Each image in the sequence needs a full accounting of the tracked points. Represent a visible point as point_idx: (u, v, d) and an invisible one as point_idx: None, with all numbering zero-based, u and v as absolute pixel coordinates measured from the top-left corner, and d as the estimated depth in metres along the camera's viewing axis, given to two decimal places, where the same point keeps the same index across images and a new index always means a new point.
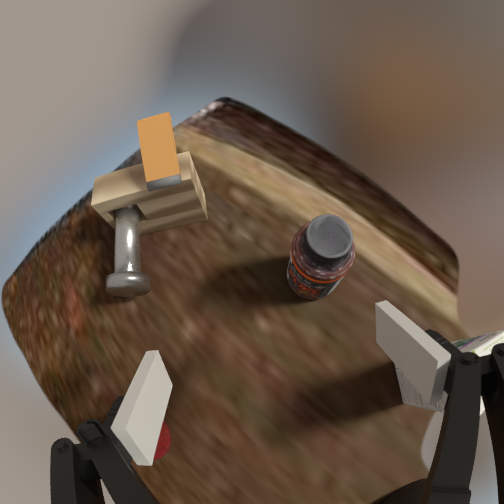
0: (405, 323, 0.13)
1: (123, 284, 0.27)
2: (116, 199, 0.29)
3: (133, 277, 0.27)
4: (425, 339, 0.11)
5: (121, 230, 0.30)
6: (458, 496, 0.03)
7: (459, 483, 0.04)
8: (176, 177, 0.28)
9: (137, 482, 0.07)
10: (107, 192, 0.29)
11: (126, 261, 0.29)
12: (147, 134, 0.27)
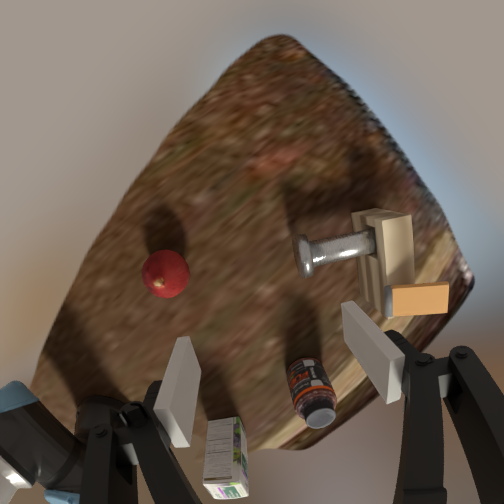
0: (365, 323, 0.14)
1: (302, 264, 0.31)
2: (383, 249, 0.30)
3: (308, 273, 0.32)
4: (382, 339, 0.12)
5: (354, 248, 0.32)
6: (434, 496, 0.04)
7: (432, 482, 0.05)
8: (390, 314, 0.30)
9: (174, 468, 0.07)
10: (392, 237, 0.29)
11: (324, 259, 0.32)
12: (433, 293, 0.27)
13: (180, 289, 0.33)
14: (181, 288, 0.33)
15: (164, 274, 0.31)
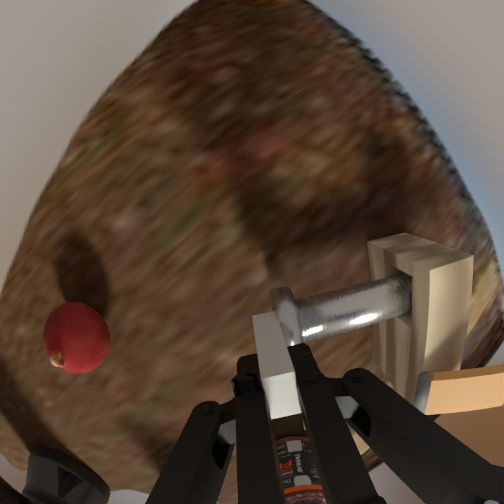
0: (275, 335, 0.15)
1: None
2: (425, 317, 0.15)
3: None
4: (281, 352, 0.13)
5: (377, 312, 0.17)
6: None
7: (365, 494, 0.05)
8: None
9: (271, 447, 0.08)
10: (442, 298, 0.15)
11: (323, 333, 0.18)
12: (491, 384, 0.13)
13: (94, 365, 0.19)
14: (95, 363, 0.19)
15: (63, 347, 0.16)
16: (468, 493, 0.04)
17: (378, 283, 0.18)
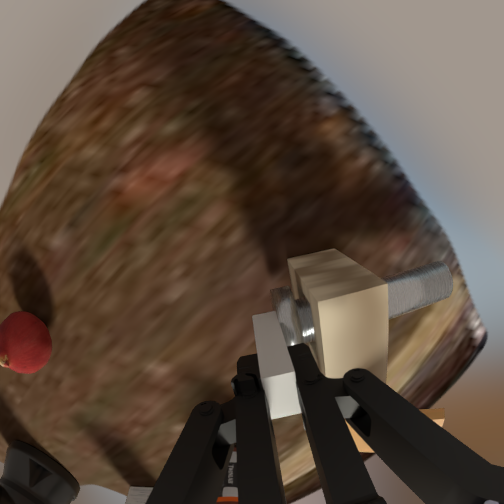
0: (275, 335, 0.15)
1: None
2: (322, 351, 0.15)
3: None
4: (281, 352, 0.13)
5: None
6: None
7: (365, 494, 0.05)
8: None
9: (271, 447, 0.08)
10: (341, 332, 0.15)
11: None
12: None
13: (35, 367, 0.18)
14: (36, 366, 0.18)
15: (8, 350, 0.16)
16: (468, 493, 0.04)
17: None
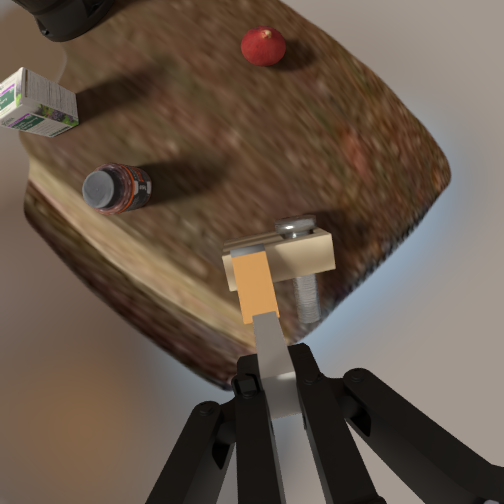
0: (275, 335, 0.15)
1: (294, 221, 0.32)
2: (302, 239, 0.31)
3: (285, 228, 0.33)
4: (281, 352, 0.13)
5: None
6: None
7: (365, 494, 0.05)
8: (233, 254, 0.30)
9: (271, 447, 0.08)
10: (314, 247, 0.31)
11: None
12: (266, 300, 0.28)
13: (252, 53, 0.29)
14: (253, 54, 0.29)
15: (272, 40, 0.28)
16: (468, 493, 0.04)
17: (315, 273, 0.36)
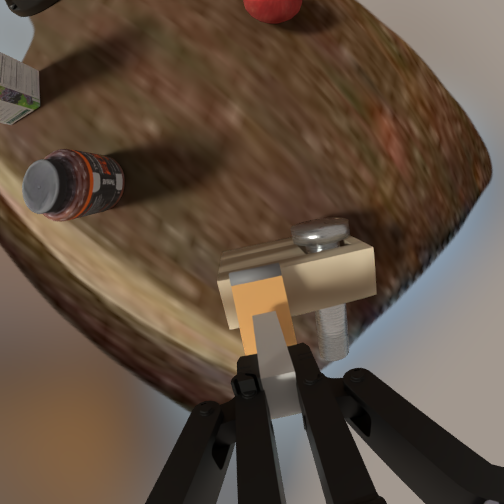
0: (275, 335, 0.15)
1: (321, 228, 0.22)
2: (333, 255, 0.21)
3: (308, 237, 0.23)
4: (281, 352, 0.13)
5: None
6: None
7: (365, 494, 0.05)
8: (233, 280, 0.20)
9: (271, 447, 0.08)
10: (350, 266, 0.21)
11: None
12: None
13: (259, 4, 0.19)
14: (260, 5, 0.19)
15: None
16: (468, 493, 0.04)
17: None
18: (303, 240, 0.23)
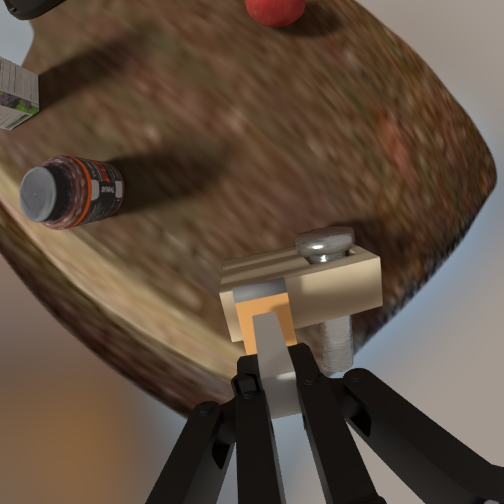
0: (275, 335, 0.15)
1: (326, 237, 0.22)
2: (339, 265, 0.20)
3: (312, 247, 0.22)
4: (281, 352, 0.13)
5: None
6: None
7: (365, 494, 0.05)
8: (237, 298, 0.19)
9: (271, 447, 0.08)
10: (356, 277, 0.20)
11: None
12: None
13: (261, 7, 0.19)
14: (262, 8, 0.19)
15: None
16: (468, 493, 0.04)
17: None
18: (308, 250, 0.22)
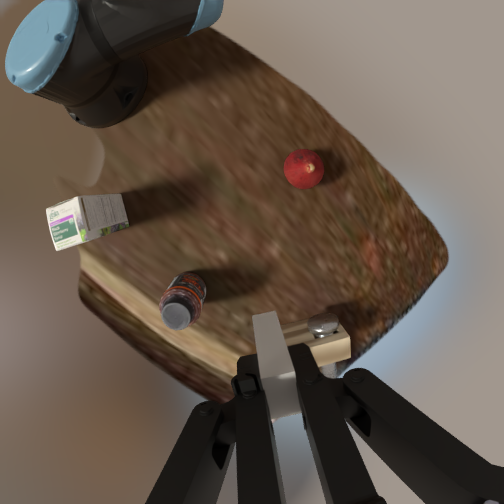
0: (275, 334, 0.15)
1: (323, 326, 0.42)
2: (329, 341, 0.41)
3: (316, 331, 0.42)
4: (281, 352, 0.13)
5: None
6: None
7: (365, 494, 0.05)
8: None
9: (271, 447, 0.08)
10: (337, 346, 0.41)
11: None
12: None
13: (296, 182, 0.39)
14: (296, 183, 0.39)
15: (315, 172, 0.37)
16: (468, 493, 0.04)
17: None
18: (314, 331, 0.43)
